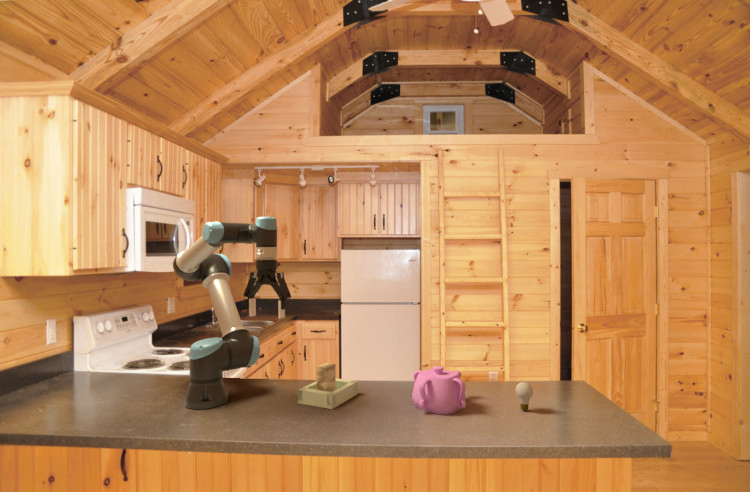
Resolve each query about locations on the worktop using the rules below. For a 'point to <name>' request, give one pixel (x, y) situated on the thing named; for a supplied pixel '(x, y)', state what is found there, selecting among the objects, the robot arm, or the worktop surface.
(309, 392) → the well block
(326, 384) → the wooden stepped block
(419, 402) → the pink multi-handled pot
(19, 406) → the worktop surface
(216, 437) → the worktop surface
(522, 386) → the light bulb
